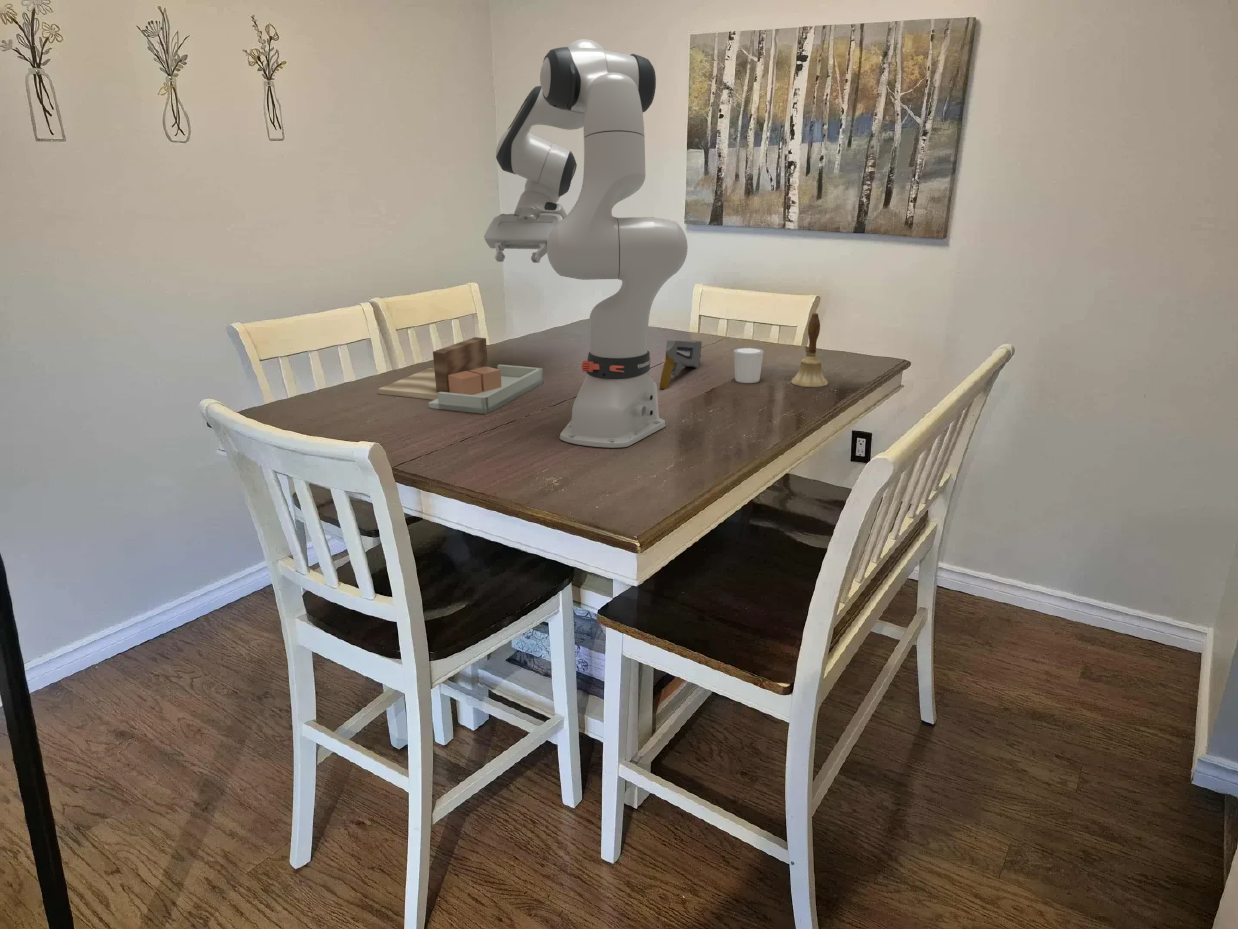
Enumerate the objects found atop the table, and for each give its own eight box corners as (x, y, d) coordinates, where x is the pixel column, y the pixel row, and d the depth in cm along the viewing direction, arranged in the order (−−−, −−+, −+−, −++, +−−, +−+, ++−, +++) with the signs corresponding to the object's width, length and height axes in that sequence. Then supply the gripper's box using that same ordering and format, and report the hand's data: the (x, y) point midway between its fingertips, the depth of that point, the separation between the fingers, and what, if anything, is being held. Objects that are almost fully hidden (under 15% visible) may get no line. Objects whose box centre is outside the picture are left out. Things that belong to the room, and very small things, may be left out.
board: (445, 401, 181) (444, 395, 180) (378, 393, 187) (378, 388, 186) (491, 378, 198) (491, 373, 198) (429, 372, 204) (429, 367, 204)
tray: (486, 414, 171) (485, 397, 170) (428, 407, 176) (427, 391, 175) (543, 382, 194) (542, 368, 192) (491, 377, 199) (490, 363, 197)
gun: (697, 401, 208) (704, 341, 208) (666, 388, 185) (675, 322, 185) (684, 400, 209) (692, 341, 209) (653, 387, 186) (662, 321, 186)
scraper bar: (447, 393, 182) (444, 352, 179) (436, 391, 183) (432, 351, 180) (488, 375, 196) (485, 338, 192) (478, 374, 197) (475, 337, 194)
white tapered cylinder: (763, 377, 196) (765, 347, 193) (760, 384, 190) (761, 354, 187) (734, 375, 198) (735, 346, 195) (730, 382, 191) (731, 352, 189)
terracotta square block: (484, 391, 183) (483, 374, 182) (469, 388, 186) (468, 370, 185) (501, 387, 187) (500, 369, 185) (487, 383, 190) (485, 366, 188)
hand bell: (831, 380, 192) (836, 311, 187) (823, 389, 185) (829, 317, 180) (795, 376, 196) (800, 309, 190) (787, 385, 189) (791, 315, 183)
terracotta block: (463, 397, 179) (462, 379, 178) (449, 392, 182) (448, 375, 181) (481, 392, 183) (480, 374, 181) (467, 388, 186) (466, 370, 184)
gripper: (490, 205, 200) (472, 250, 194) (567, 204, 192) (551, 252, 187) (500, 223, 205) (483, 268, 200) (576, 223, 198) (560, 270, 193)
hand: (516, 260), depth 193 cm, fingers open, 8 cm apart
